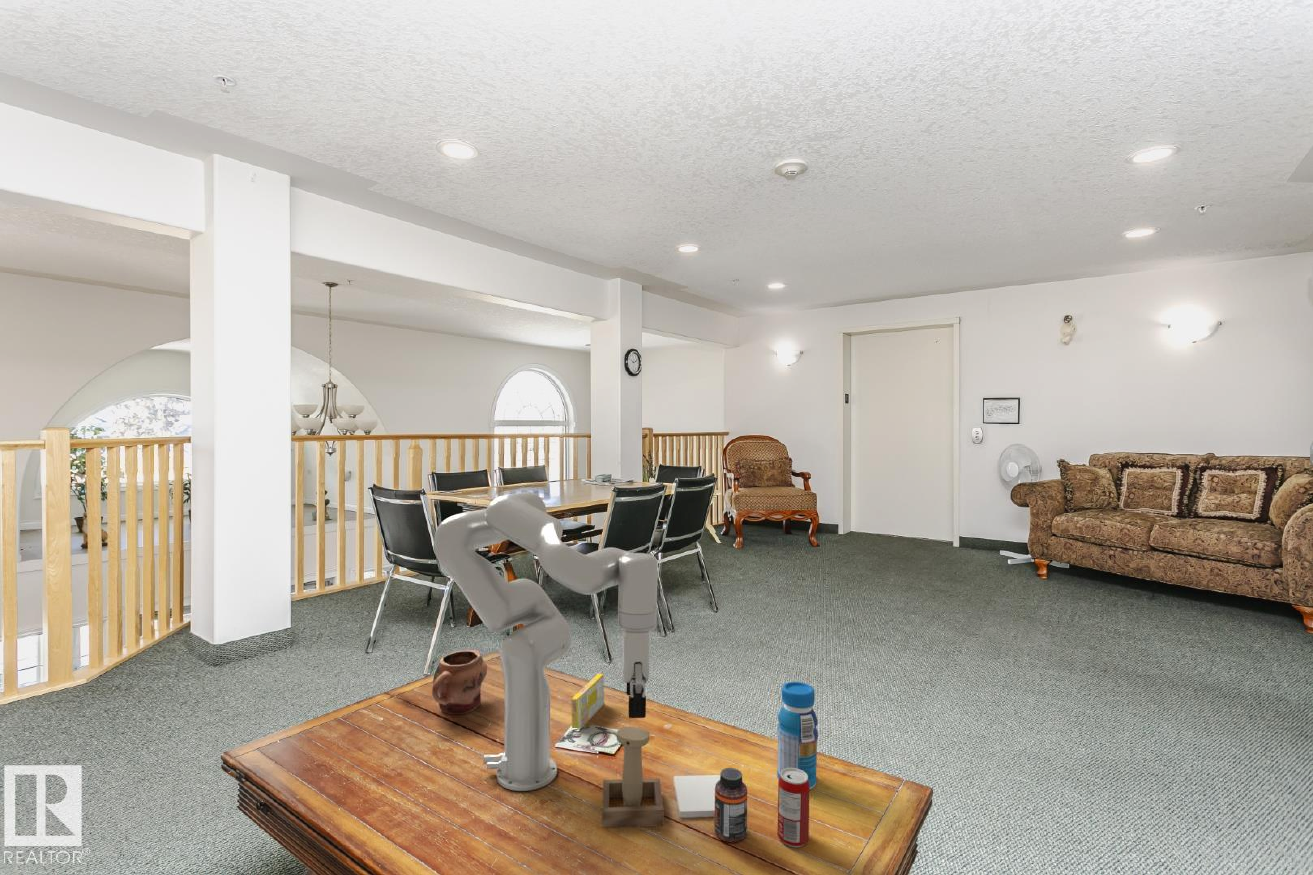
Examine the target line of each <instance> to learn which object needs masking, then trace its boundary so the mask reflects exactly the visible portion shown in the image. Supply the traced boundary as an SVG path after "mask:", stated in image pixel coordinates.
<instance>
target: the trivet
mask: <svg viewBox="0 0 1313 875" xmlns="http://www.w3.org/2000/svg"><path fill="white" fill-rule="evenodd" d="M719 780H720V774H710V775H709V774H707V775H675V776H673V785H674V791H675V798H676V803H677V811H678V817H679V818H685V819H686V818H708V817H709V818H710V817H711V818H712V817H713V818H715V817H714V815H715V785H716V783H717V782H718V781H719Z"/></svg>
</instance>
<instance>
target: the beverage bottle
mask: <svg viewBox="0 0 1313 875" xmlns="http://www.w3.org/2000/svg"><path fill="white" fill-rule="evenodd" d="M815 694H816V691H815V688H814V687H813V686H812V685H811V684H808V683H805V682H801V681H790V682H785V683H784V684H783V685H782V687H781V701H782V704H783V705H782V706H781V708H780V710H779V712H778V716H777V720H778V724H777V727H776V734H777V767H776V768H777V771H776V778H777V780H778V782H779V777H780V774H781V771H782V770H783V769H786V768H797V769H800V770H802V771H804V772H805V773H806V774H807V775H808V780H809V784H810V790H812V789H814V787H815V786H816V785H817V781H818V780H817V778H818V777H817V765H818V764H817V759H818V740H819V731H818V729H817V726H818V724H819V722H818V721H819V720H818V716H817V714H816V712H815V710H814V709H813V707H814V705H815V701H816V700H815V696H816V695H815Z"/></svg>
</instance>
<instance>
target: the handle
mask: <svg viewBox="0 0 1313 875" xmlns="http://www.w3.org/2000/svg"><path fill="white" fill-rule="evenodd" d="M650 735H651V734H650V732H649V731H648V730H646V729H644V728H640V727H636V726H623V727H620V728H619V729H618V730H617V731H616V741H617V742H618V743H620V744H621V745H622V746H623V748H624V749H623V751H624V752H623V765H622V766H623V768H622V777H621V779H622V792H623V797H622V799H623V803H622V805H623V806H622V807H642V802H641V801H642V798H643V797H642V788H643V779H644V778H643V764H642V762H643V759H642V748H643V747H645V746H646V745H647V744H648V743H650Z"/></svg>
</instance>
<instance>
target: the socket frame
mask: <svg viewBox="0 0 1313 875" xmlns="http://www.w3.org/2000/svg"><path fill="white" fill-rule="evenodd" d="M660 779H661V778H659V777H658V778H657V777H656V778H643V788H642V798H645V797H646V798H649V797H651V798H652V797H653V802H654V806H653V805H650V806H648V805H646V806H641V807H624V806H615V807H614V806H613V807H611V806H610V799H612V798H613V799H615V798H616V799H617V798H620V799H621V798H623V792H622V778H621V779H603V781H602V784H603V785H602V809H601V810H602V816H601V817H602V820H601V821H602V822H601V824H602V825H601V826H602V828H626V827H627V828H628V827H629V828H631V827H632V828H633V827H661V826H664V813H665V812H664V810H665V809H664V802H663V794H662V787H661V780H660Z"/></svg>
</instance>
